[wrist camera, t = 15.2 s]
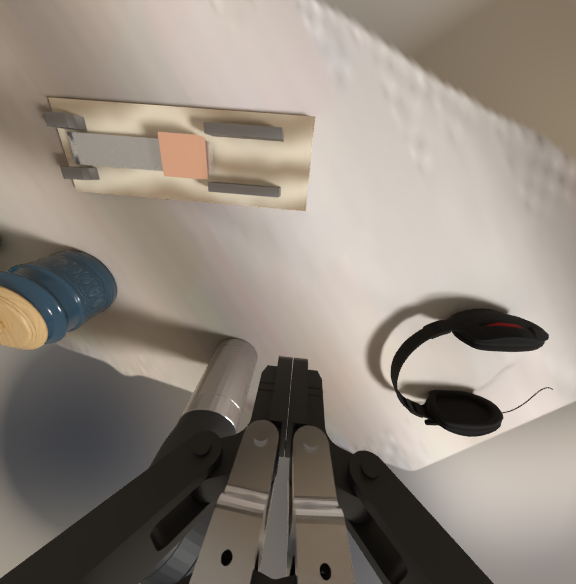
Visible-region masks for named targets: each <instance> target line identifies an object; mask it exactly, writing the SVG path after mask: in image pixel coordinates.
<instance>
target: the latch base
mask: <svg viewBox="0 0 576 584" xmlns="http://www.w3.org/2000/svg"><path fill="white" fill-rule="evenodd" d="M48 99H49V102H50V106H51V109H52V112H51V111H43V114H44V117H45V121H46V124H47V126H52V127H57V129H58V132H59V135H60V139H61V142H62V145H63V148H64V152H65V155H66V158H67V162H68V165H69V166H60V168H61V171H62V174H63V177H64V179H73V181H74V185H75V188H76V191H81V192H92V193H104V194H115V195H127V196H139V197H150V198H162V199H173V200H185V201H196V202H208V203H219V204H231V205H243V206H254V207H266V208H277V209H289V210H300V211H306V201H307V191H308V181H309V171H310V161H311V152H312V142H313V132H314V122H315V117H313V116H299V115H286V114H272V113H258V112H244V111H230V110H216V109H202V108H188V107H175V106H161V105H147V104H133V103H119V102H105V101H91V100H77V99H64V98H50V97H48ZM67 132H78V133H91V134H105V135H118V136H131V137H144V138H157V139H158V132H168V133H181V134H194V135H199V136H202V137H205V142H209V143H212V149H213V166H214V175H208V179H192V178H180V177H168V176H164V173H163V171H155V170H143V169H131V168H119V167H107V166H94V165H82V164H76V163H75V160H74V156H73V153H72V150H71V146H70V143H69V139H68V136H67Z"/></svg>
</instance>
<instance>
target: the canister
mask: <svg viewBox="0 0 576 584" xmlns="http://www.w3.org/2000/svg"><path fill="white" fill-rule="evenodd" d="M116 296H117V285H116V282H115V279H114V277H113V276H112V274H111V272H110V271H109V270H108V269H107V267H106V266H105V265H104V264H103V263H101V262H100V261H99V260H97V259H96V258H94V257H93V256H91V255H89V254H86V253H84V252H80V251H62V252H58V253H55V254H52V255H50V256H48V257H46V258H43V259H39V260H36V261H33V262H30V263H27V264H20V265H16V266H14V267H12V268H11V269H10V270H9V271H8V272H0V344H1V345H4V346H9V347H14V348H18V349H26V350H27V349H28V350H29V349H36V348H38V347H40V346H42V345H43V344H52V343H56V342H58V341H60V340H61V339H62V338H63V337H64V336H65V335H66V333H67V332H71V331H74V330H76V329H77V328H79V327H80V326H81V325H82V324H83V323H85V322H86V321H88V320H89V319H91V318H92V317H94V316H95V315H97V314H98V313H101V312H103V311H104V310H106V309H107V308H108V307H110V305H111V304H112V303H113V302H114V301H115V299H116Z"/></svg>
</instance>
